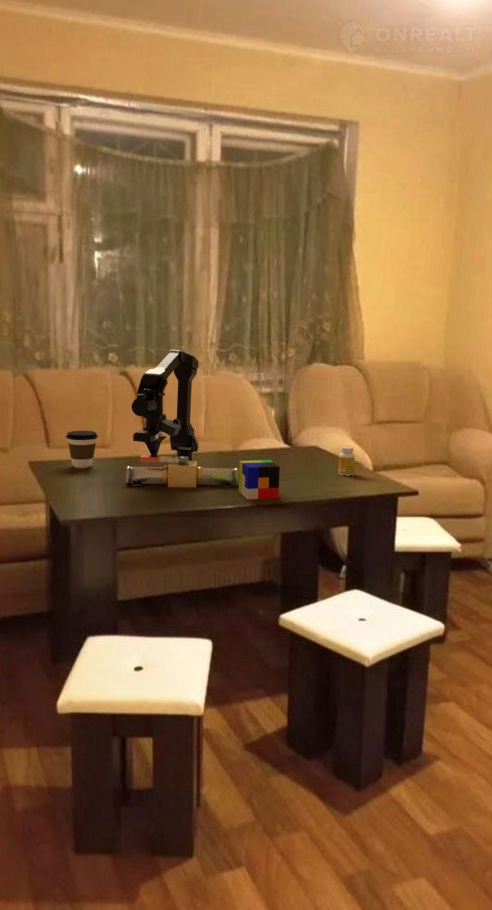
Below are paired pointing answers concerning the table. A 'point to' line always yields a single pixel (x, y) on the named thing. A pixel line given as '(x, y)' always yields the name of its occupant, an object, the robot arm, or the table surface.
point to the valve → (182, 475)
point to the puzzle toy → (259, 479)
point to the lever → (163, 459)
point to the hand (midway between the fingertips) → (154, 458)
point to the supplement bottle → (346, 461)
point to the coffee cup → (82, 447)
